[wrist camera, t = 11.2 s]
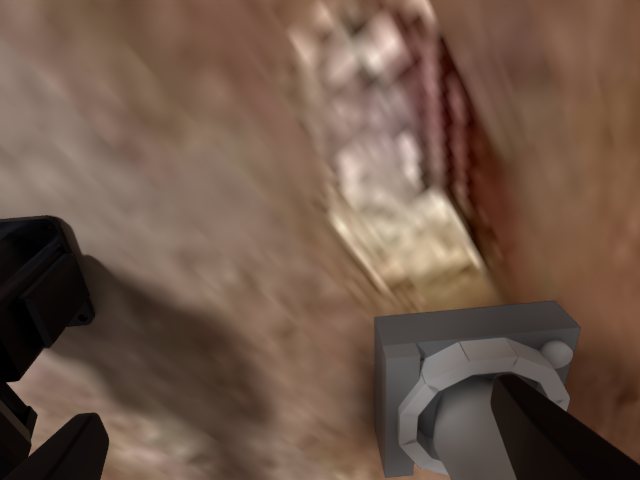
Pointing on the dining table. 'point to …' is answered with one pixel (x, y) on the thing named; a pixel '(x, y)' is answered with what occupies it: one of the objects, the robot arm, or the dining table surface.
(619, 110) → the dining table surface
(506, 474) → the salt shaker
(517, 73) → the dining table surface
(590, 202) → the dining table surface
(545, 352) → the ringed square socket
